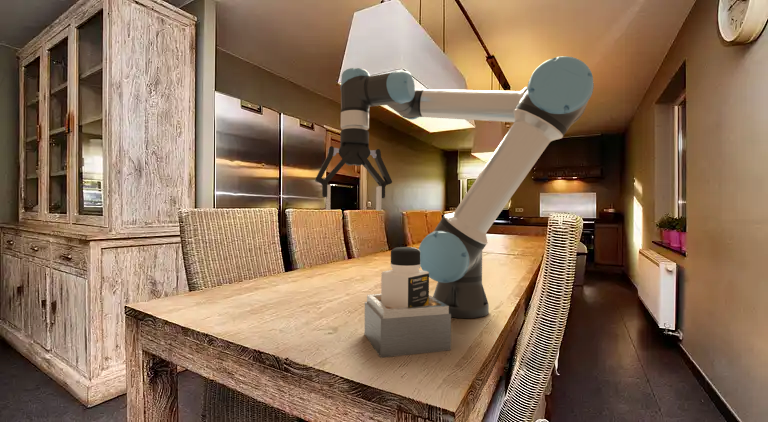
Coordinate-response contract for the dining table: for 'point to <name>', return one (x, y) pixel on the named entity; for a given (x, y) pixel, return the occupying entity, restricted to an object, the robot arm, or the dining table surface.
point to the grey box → (407, 327)
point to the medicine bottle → (405, 280)
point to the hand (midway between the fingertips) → (353, 210)
